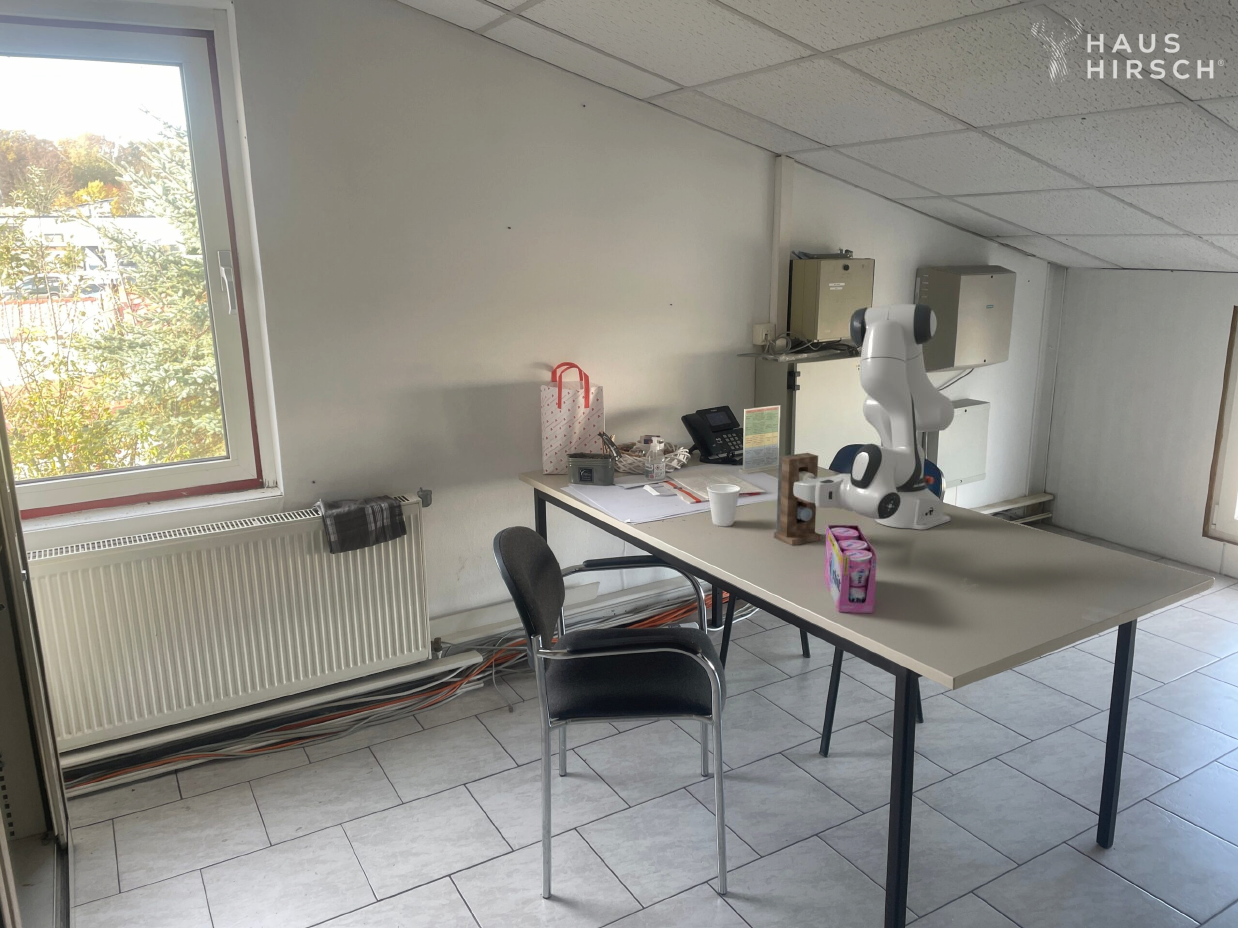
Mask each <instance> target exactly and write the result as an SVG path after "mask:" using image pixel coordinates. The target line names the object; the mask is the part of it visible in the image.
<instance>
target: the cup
mask: <svg viewBox="0 0 1238 928" xmlns="http://www.w3.org/2000/svg"><path fill="white" fill-rule="evenodd" d="M706 489H707V494H708V499H709V505H710V511H711V512H710V513H711V520H712V523H713V525H714V526H717V527H724V528H725V527H732V525H734V523H735V516H736V512H737V506H738V502H739V501H738V500H739V496H740V491H741V490H742V489H741V487H740V486H738V485H735V484H729V483H717V484H711V485H709V486H707V487H706Z"/></svg>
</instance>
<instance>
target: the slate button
mask: <svg viewBox="0 0 1238 928" xmlns="http://www.w3.org/2000/svg"><path fill="white" fill-rule="evenodd" d="M811 517H812V510H811V509H809V508H807V507H804V506H797V518H798V519H802V520H804V521H808V520H810V519H811Z"/></svg>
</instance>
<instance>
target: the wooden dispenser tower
mask: <svg viewBox="0 0 1238 928" xmlns="http://www.w3.org/2000/svg"><path fill="white" fill-rule="evenodd" d="M818 470H819V455H816V454H814V453H811V452H805V453H804V452H803V453H802V452H801V453H796V454H788V455H782V456H781V455H780V456H778V471H777V472H778V473H777V475H778V477H777V478H778V479H777V504H776V509H777V510H776V531H774V532H773V539H777V540H778V541H781V542H783V543H785V544H788V545H790V546H796V545H801V544H806V543H812V542H816V541H818V542H819V541H821V538H822V537H821V535H822V534H821V533H818V532H816V520H817V519H816V516H817V515H816V514H817V506H816V505H815V503H808V504H806V503H803V502H800V501H797V497H795V496H794V493H793V486H794V483H795V482H798V472H801V471H806V472H809V473H812V474H813V475H814V476H815V477H818V473H819V472H818ZM797 506H804V507H807V508H809V509H811V510H812V517H811V519H810V520H808V521H804V520H802V519H798V518H797Z"/></svg>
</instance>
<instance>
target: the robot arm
mask: <svg viewBox="0 0 1238 928" xmlns="http://www.w3.org/2000/svg"><path fill="white" fill-rule="evenodd" d="M937 323H938V322H937V318H936V314H935V312H934V308H932V306H930V305H929V304H925V303H916V304H911V303H894V304H893V303H891V304H887V305H880V306H873V307H867V306H865V307H862V308H858V309H856V310H855V311H854V312H853V313H852V314H851V316H850V320H849V323H848V332H849V335H850V340H851V341H852V343H853V344H854V345H856V346H858V347H861V353H860V354H861V355H860V363H859V380H860V384H861V387H862V388H861V389H863V390H864V392H865V393H866V394H867V396H866V398H865V399H864V402H863V405H862V411H863V412H862V413H863V416H864V418H865V420H866V421H867V422H868V423H869V424H870V425H871V427H873V428H874V429H875V431H876V432H877V434H878V435H879V438H880V440H881V443H882V445H880V444H876V443H867V444H864V445H863V446H861V447H860V448H859V449H857V451H856V453H855V455H854V456H853V459H852V462H851V467H850V473H839V474H837V475H831V476H825V477H818V476H817V477H809V478H806V480H805V481H798V482H795V483H794V486H793V493H794V496H795V497H797V498H799V499H802V500H804V501H807V502H810V503H815V505H816V508H822V509H824V508H833V509H834V508H835V509H840V510H845V511H849V512H855V513H856V514H858V515H860V516H863V517H865V518H869V519H874V520H875V521H876V522H877V523H878V524H880V525H884V526H886V527H892V528H898V529H899V528H900V529H913V530H927V529H931V528H933V527H936V526H939V525H942V524H944V523H947V522H950V521H951V516H950V515H948V514H946V513H943V502H942V500H941V498H939V497H938V496H937V495H935V494H934V492H932V491H930V489H929V488H928V486H927V484H929V485H932V484H933V483H934V481H935V479H934V477H933V476H929V475H926V476H924V471H925V470H924V468H925V466H924V465H925V455H926V454H925V451H924V449H923V447H922V446H921V445H920V444H919V443H918V438H917V432H926V433H927V432H928V433H930V432H939V431H945V430H947V428H949V427H950V425H951V424H952V422H953V420H954V417H955V407H954V404H953V402H952V401H951V399H950V398H949V397H947V396H946V395H944V394H943V393H941V392H940V391H939V390H938V389H937V388H936V387H935V386H934V384H933V383H932V382H931V380H930V379H929V377H928V374H927V372H926V367H925V361H924V353H923V352H924V351H923V345H924V344H927V343H928V342H930V341H931V340H932V339H933V338H934V335H935V332H936V330H937Z"/></svg>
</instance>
